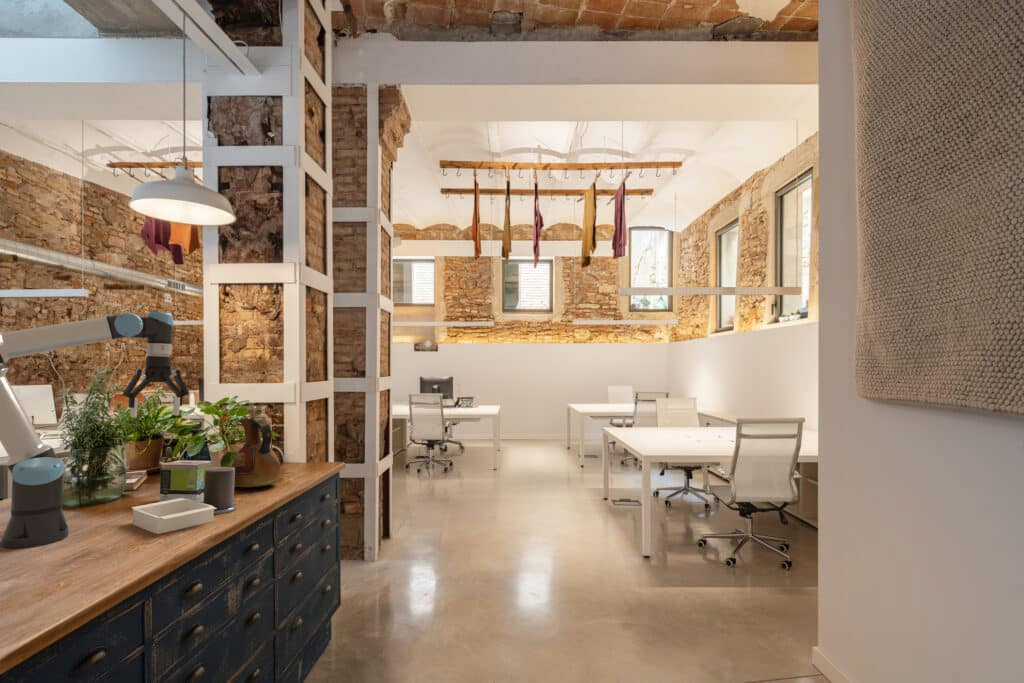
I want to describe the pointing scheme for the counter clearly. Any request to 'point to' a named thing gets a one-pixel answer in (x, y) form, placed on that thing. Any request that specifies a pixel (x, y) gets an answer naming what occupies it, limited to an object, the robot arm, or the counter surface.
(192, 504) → the white rectangular tray
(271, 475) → the ceramic pitcher
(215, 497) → the pillar candle
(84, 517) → the counter surface
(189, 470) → the tea box
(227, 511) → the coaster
